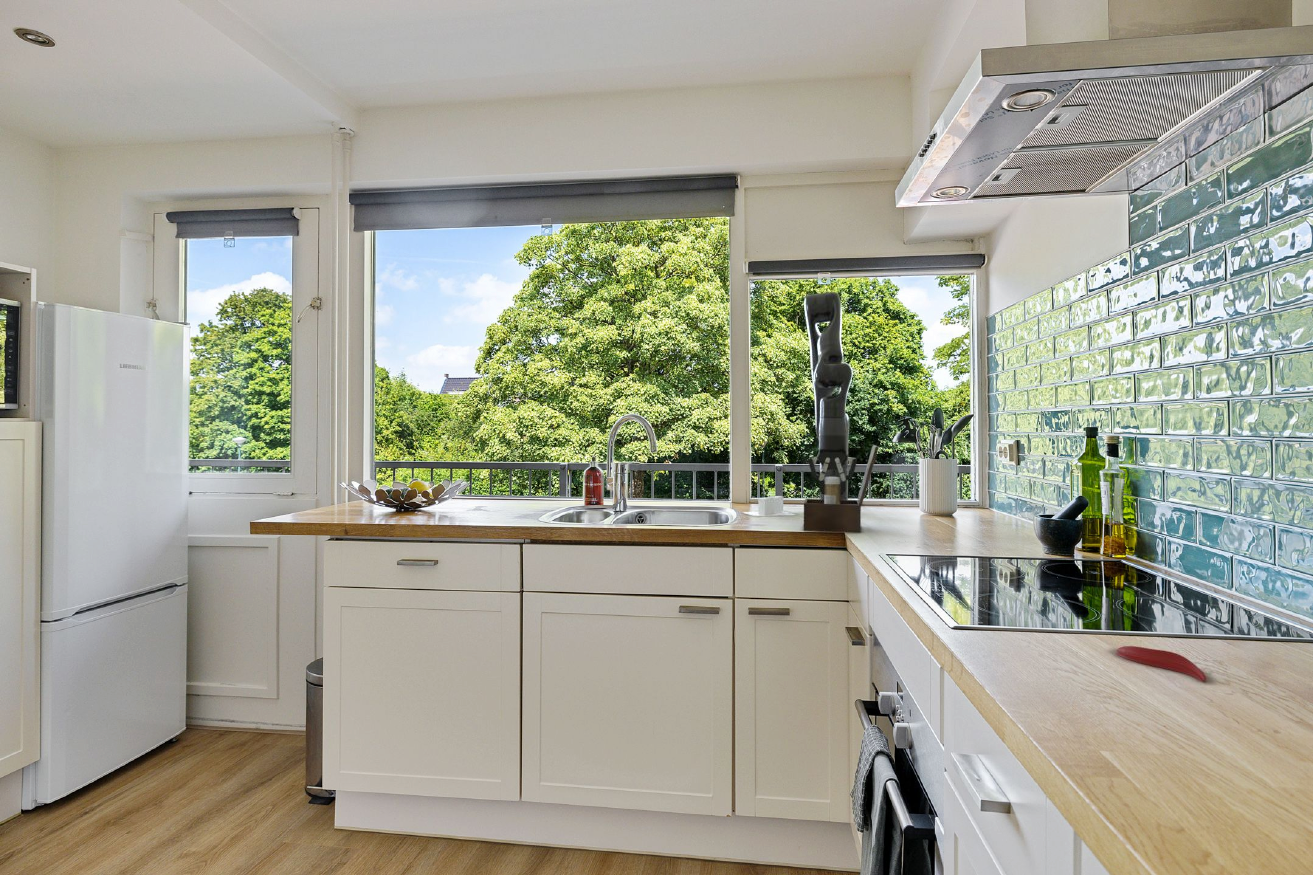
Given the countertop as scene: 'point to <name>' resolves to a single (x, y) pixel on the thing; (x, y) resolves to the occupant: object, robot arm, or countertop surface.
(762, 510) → the napkin holder
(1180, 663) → the cayenne pepper
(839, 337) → the robot arm
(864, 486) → the chest lid
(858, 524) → the chest
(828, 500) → the sprinkles bottle
